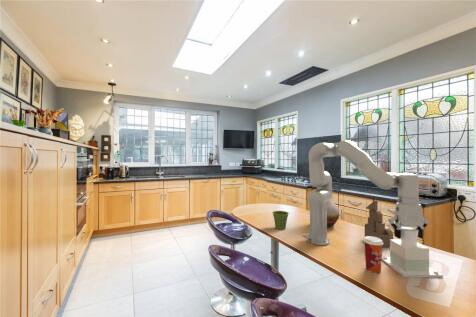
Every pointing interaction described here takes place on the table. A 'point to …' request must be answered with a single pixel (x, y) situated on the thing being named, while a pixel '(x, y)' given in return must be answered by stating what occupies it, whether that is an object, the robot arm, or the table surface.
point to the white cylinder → (409, 235)
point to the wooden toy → (377, 225)
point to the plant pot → (280, 219)
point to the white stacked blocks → (410, 260)
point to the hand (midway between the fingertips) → (408, 237)
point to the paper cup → (373, 253)
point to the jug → (331, 213)
